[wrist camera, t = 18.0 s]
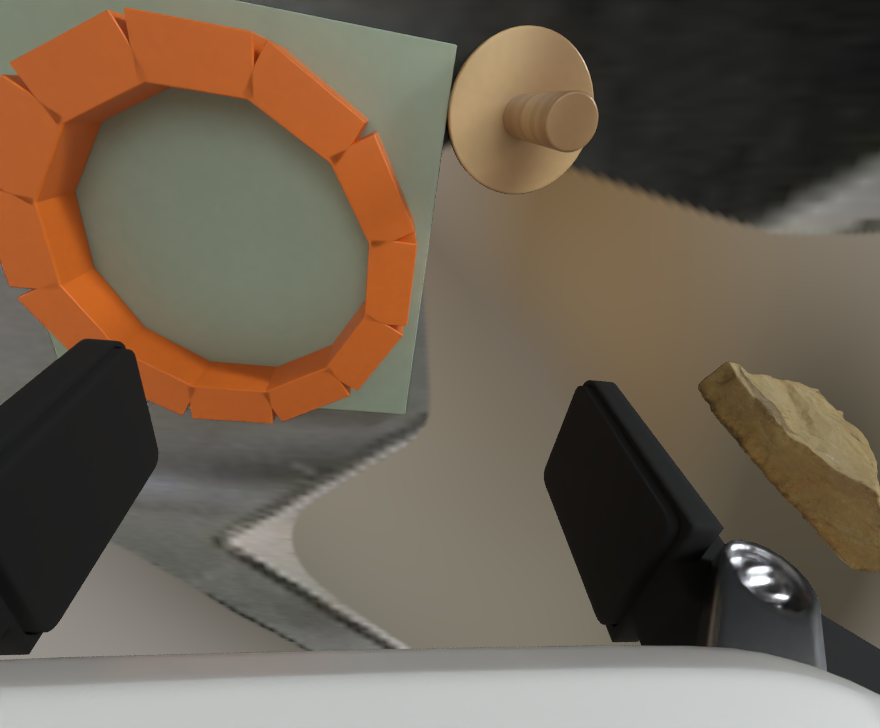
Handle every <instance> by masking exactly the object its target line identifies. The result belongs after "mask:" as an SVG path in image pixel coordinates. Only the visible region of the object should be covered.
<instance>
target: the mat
mask: <svg viewBox="0 0 880 728" xmlns="http://www.w3.org/2000/svg"><path fill="white" fill-rule="evenodd" d="M125 7H127V8H133V9H138V10H143V11H149V12H154V13H159V14H164V15H170V16H175V17H180V18H186V19H191V20H196V21H201V22H207V23H212V24H217V25H223V26H228V27H233V28H238V29H244V30H249V31H252V32H254V33H256V34H258V35H260V36H262V37H264V38H266V39H268V40H270V41H272V42H274V43H276V44H278V45H280V46H282V47H284V48H286V49H287V50H288V51H289V52H290V53H291V54H293V55H294V56H295V57H296V58H297V59H299V60H300V61H301V62H302V63H303V64H304V65H306V66H307V67H308V68H309V69H310V70H311V71H313V72H314V73H315V74H316V75H317V76H319V77H320V78H321V79H322V80H323V81H324V82H326V83H327V84H328V85H329V86H330V87H332V88H333V89H334V90H335V91H336V92H337V93H339V94H340V95H341V96H342V97H343V98H344V99H346V100H347V101H348V102H349V103H350V104H352V105H353V106H354V107H355V108H356V109H357V110H359V111H360V112H361V113H362V114H363V115H364V116H366V117H367V118H368V119H369V122H368V123H367V125H366V127H365V128H364V130H363V131H362V133H361V134H360V136H359V138H358V139H360V138H362V137H364V136H366V135H368V134H371V133H373V132H375V131H377V132H378V133H379V136H380V138H381V141H382V143H383V145H384V148H385V150H386V153H387V155H388V158H389V160H390V162H391V165H392V167H393V170H394V172H395V174H396V177H397V179H398V182H399V184H400V187H401V189H402V191H403V194H404V196H405V199H406V201H407V203H408V206H409V208H410V211H411V213H412V216H413V218H414V225H415V232H416V239H417V251H416V259H415V267H414V276H413V284H412V292H411V300H410V308H409V316H408V324H407V326H403V336H402V337H401V339H400V340H399V341H398V342H397V343H396V345H395V346H394V347H393V348H392V350H391V351H390V352H389V353H388V354H387V356H386V357H385V358H384V359H383V361H382V362H381V363H380V364H379V365H378V367H377V368H376V369H375V370H374V372H373V373H372V374H371V375H370V376H369V378H368V379H367V380H366V381H365V382H364V384H363V385H362V386H361V387H360V389H359V390H358V391H357V390H355V389H353V388H351V391H350V396H349V397H346V398H343V399H341V400H338V401H336V402H333V403H330V404H328V405H325V406H322V407H320V408H324V409H338V410H352V411H365V412H379V413H393V414H405V411H406V404H407V397H408V390H409V383H410V375H411V368H412V361H413V354H414V347H415V340H416V333H417V326H418V319H419V311H420V304H421V297H422V290H423V283H424V276H425V269H426V262H427V254H428V247H429V240H430V232H431V226H432V219H433V212H434V205H435V198H436V191H437V183H438V176H439V169H440V162H441V155H442V148H443V141H444V134H445V127H446V119H447V112H448V105H449V98H450V91H451V84H452V77H453V70H454V63H455V55H456V48H457V45H455V44H450V43H445V42H440V41H435V40H430V39H425V38H420V37H415V36H410V35H405V34H400V33H395V32H390V31H385V30H380V29H375V28H370V27H365V26H360V25H355V24H350V23H346V22H341V21H336V20H331V19H326V18H321V17H316V16H311V15H306V14H301V13H296V12H291V11H286V10H281V9H276V8H271V7H266V6H261V5H256V4H251V3H246V2H241V1H236V0H0V76H1V75H2V74H5V75H18V74H17V73H16V71H15V70H14V69H13V67H12V66H11V65H10V62H11V61H13V60H15V59H16V58H18V57H20V56H22V55H24V54H26V53H27V52H29V51H31V50H33V49H35V48H37V47H39V46H40V45H42V44H44V43H46V42H48V41H50V40H52V39H53V38H55V37H57V36H59V35H61V34H63V33H65V32H66V31H68V30H70V29H72V28H74V27H76V26H77V25H79V24H81V23H83V22H85V21H87V20H89V19H90V18H92V17H94V16H96V15H98V14H100V13H102V12H103V11H105V10H111V11H114V12H117V13H120V14H123V15H125V12H124V8H125ZM358 139H357V140H358ZM75 193H76V197H77V201H78V205H79V209H80V213H81V217H82V221H83V225H84V229H85V233H86V237H87V241H88V245H89V249H90V252H91V256H92V260H93V264H94V268H95V269H96V270H97V271H98V272H99V273H100V275H101V276H102V277H103V278H104V279H105V281H106V282H107V283H108V284H109V285H110V286H111V288H112V289H113V290H114V291H115V292H116V293H117V295H118V296H119V297H120V298H121V299H122V301H123V302H124V303H125V304H126V305H127V306H128V308H129V309H130V310H131V311H132V312H133V313H134V315H135V316H136V317H137V318H138V319H139V321H140V322H141V323H142V324H143V325H144V326H145V328H147V329H149V330H151V331H153V332H155V333H157V334H159V335H161V336H163V337H165V338H167V339H169V340H170V341H172V342H174V343H176V344H178V345H180V346H182V347H184V348H186V349H188V350H190V351H192V352H194V353H196V354H197V355H199V356H201V357H203V358H205V359H207V360H209V361H213V362H225V363H237V364H250V365H262V366H274V367H278V366H280V365H283V364H285V363H288V362H290V361H293V360H295V359H298V358H300V357H303V356H305V355H308V354H310V353H313V352H315V351H318V350H320V349H323V348H325V347H328V346H330V345H332V344H333V343H334V341H335V340H336V339H337V337H338V336H339V335H340V333H341V332H342V331H343V329H344V328H345V327H346V325H347V324H348V322H349V321H350V320H351V318H352V317H353V316H354V314H355V313H356V312H357V310H358V309H359V308H360V306H361V305H362V304H363V302H364V301H365V298H366V283H367V269H368V254H369V243H368V241H367V238H366V236H365V234H364V232H363V230H362V228H361V226H360V224H359V222H358V220H357V218H356V216H355V214H354V212H353V209H352V207H351V205H350V203H349V201H348V199H347V197H346V195H345V193H344V191H343V189H342V187H341V185H340V183H339V180H338V178H337V176H336V174H335V172H334V170H333V168H332V166H331V164H330V163H329V162H328V161H326V160H325V159H324V158H322V157H321V156H320V155H319V154H317V153H316V152H315V151H313V150H312V149H311V148H310V147H308V146H307V145H306V144H304V143H303V142H302V141H300V140H299V139H298V138H297V137H295V136H294V135H293V134H291V133H290V132H289V131H288V130H286V129H285V128H284V127H282V126H281V125H280V124H278V123H277V122H276V121H275V120H273V119H272V118H271V117H269V116H268V115H267V114H266V113H264V112H263V111H262V110H260V109H259V108H258V107H256V106H255V105H254V104H253V103H251V102H250V101H249V100H246V99H240V98H234V97H228V96H222V95H216V94H210V93H204V92H198V91H192V90H186V89H180V88H174V87H170V88H168V89H166V90H164V91H162V92H160V93H158V94H156V95H154V96H152V97H150V98H148V99H146V100H144V101H142V102H140V103H138V104H136V105H134V106H132V107H130V108H128V109H126V110H124V111H122V112H120V113H118V114H116V115H114V116H112V117H110V118H108V119H106V120H104V121H102V123H101V126H100V128H99V131H98V133H97V136H96V139H95V141H94V144H93V146H92V149H91V152H90V154H89V157H88V159H87V162H86V165H85V167H84V170H83V172H82V175H81V178H80V180H79V183H78V185H77V188H76V190H75ZM48 331H49V330H48ZM49 334H50V337H51V340H52V343H53V346H54V349H55V352H56V355H57V358H60V357H61V356H62V355H63V354H65V353H66V352H67V351H68V349H67V348H66V347H65V346H64V345H63V344H62V343H61V342H60V341H59V340H58V339H57V338H56V337H55V336H54V335H53V334H52V333H51V332H50V331H49Z"/></svg>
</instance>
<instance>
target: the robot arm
mask: <svg viewBox="0 0 880 728" xmlns="http://www.w3.org/2000/svg"><path fill="white" fill-rule="evenodd" d="M157 461H158V447H157V443H156V439H155V435H154V431H153V426H152V422H151V418H150V414H149V410H148V406H147V401H146V397H145V393H144V389H143V385H142V381H141V376H140V372H139V368H138V364H137V360H136V356H135V353H134V352H133V351H132V350H130V349H126V347H125V345H124V344H123V343H122V342H120V341H113V340H101V339H83V340H81V341H79V342H78V343H77V344H76V345H74V346H73V347H72V348H71V349H69V350H68V351H67V352H66V353H65V354H63V355H62V356H61V357H60V358H58V359H57V360H56V361H55V362H53V363H52V364H51V365H50V366H48V367H47V368H46V369H45V370H44V371H42V372H41V373H40V374H39V375H37V376H36V377H35V378H34V379H32V380H31V381H30V382H29V383H28V384H26V385H25V386H24V387H23V388H21V389H20V390H19V391H18V392H16V393H15V394H14V395H13V396H12V397H10V398H9V399H8V400H7V401H5V402H4V403H3V404H2V405H0V655H24V654H29V653H30V652H31V650H32V649H33V647H34V646H35V644H36V642H37V641H38V639H39V638H40V636H41V635H42V633H43V632H49V631H50V630H52V629H53V628H54V627H55V626H56V625H57V624H58V622H59V621H60V619H61V618H62V616H63V615H64V613H65V611H66V610H67V608H68V607H69V605H70V603H71V602H72V600H73V599H74V597H75V595H76V594H77V592H78V591H79V589H80V587H81V586H82V584H83V583H84V581H85V579H86V578H87V576H88V575H89V573H90V571H91V570H92V568H93V566H94V565H95V563H96V562H97V560H98V559H99V557H100V555H101V554H102V552H103V550H104V549H105V547H106V546H107V544H108V543H109V541H110V539H111V538H112V536H113V534H114V533H115V531H116V530H117V528H118V526H119V525H120V523H121V522H122V520H123V518H124V517H125V515H126V514H127V512H128V510H129V509H130V507H131V506H132V504H133V502H134V501H135V499H136V498H137V496H138V494H139V493H140V491H141V490H142V488H143V486H144V485H145V483H146V482H147V480H148V478H149V477H150V475H151V473H152V472H153V470H154V469H155V467H156V464H157ZM544 481H545V485H546V488H547V490H548V493H549V496H550V498H551V501H552V503H553V506H554V509H555V511H556V514H557V516H558V519H559V522H560V524H561V527H562V529H563V532H564V535H565V537H566V540H567V542H568V545H569V547H570V550H571V553H572V555H573V558H574V560H575V563H576V565H577V568H578V571H579V573H580V576H581V579H582V581H583V584H584V586H585V589H586V592H587V594H588V597H589V599H590V602H591V604H592V607H593V610H594V612H595V614H596V617H597V619H598V620H599V621H600V623H601V624H604V625H606V627H607V630H608V632H609V635H610V637H611V640H612V642H638V641H640V643H641V645H642V646H607V645H606V646H605V645H604V646H542V647H480V648H432V649H431V648H430V649H429V648H428V649H380V650H334V651H291V652H246V653H211V654H174V655H173V654H172V655H135V656H98V657H65V658H64V657H60V658H38V659H16V660H0V728H880V649H878V648H877V647H875V646H873V645H871V644H870V643H868V642H867V641H865V640H863V639H862V638H860V637H858V636H857V635H855V634H854V633H852V632H850V631H849V630H847V629H845V628H843V627H842V626H840V625H839V624H837V623H835V622H833V621H832V620H830V619H829V618H827V617H825V616H823V615H822V614H821V612H820V605H819V601H818V599H817V595H816V593H815V591H814V590H813V588H812V587H811V585H810V584H809V582H808V580H807V579H806V578H805V577H804V576H803V575H802V574H801V573H800V572H799V571H798V570H797V568H795V567H794V566H793V565H792V564H790V563H789V562H788V561H787V560H785V559H784V558H783V557H782V556H780V555H778V554H777V553H775V552H773V551H772V550H770V549H768V548H766V547H764V546H761V545H759V544H757V543H754V542H750V541H745V540H734V541H733V540H732V541H730V542H728V543H727V544H724V542H723V541H722V540H721V538H720V537H719V534H720V533H721V531H722V530H723V529H724V528H723V526H722V525H721V524H720V522H719V521H718V520H717V518H716V517H715V516H714V514H713V513H712V512H711V510H710V509H709V508H708V506H707V505H706V504H705V502H704V501H703V500H702V498H701V497H700V496H699V494H698V493H697V492H696V490H695V489H694V488H693V487H692V485H691V484H690V482H689V481H688V480H687V479H686V477H685V476H684V475H683V473H682V472H681V471H680V469H679V468H678V467H677V465H676V464H675V463H674V461H673V460H672V459H671V457H670V456H669V455H668V453H667V452H666V451H665V449H664V448H663V447H662V445H661V444H660V443H659V442H658V440H657V439H656V437H655V436H654V435H653V433H652V432H651V431H650V429H649V428H648V427H647V425H646V424H645V423H644V421H643V420H642V419H641V418H640V416H639V415H638V413H637V412H636V411H635V409H634V408H633V407H632V406H631V404H630V403H629V402H628V400H627V399H626V397H625V396H624V395H623V394H622V392H621V391H620V390H619V388H618V387H617V386H616V385H615V384H614V383H612V382H603V381H592V380H589V381H586V382H585V383H584V385H583V386H579V387H578V388H577V389H576V391H575V393H574V395H573V398H572V401H571V403H570V406H569V408H568V411H567V413H566V416H565V419H564V421H563V424H562V426H561V429H560V432H559V434H558V437H557V439H556V442H555V444H554V447H553V449H552V452H551V454H550V457H549V460H548V462H547V465H546V467H545V471H544Z"/></svg>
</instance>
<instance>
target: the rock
mask: <svg viewBox="0 0 880 728" xmlns="http://www.w3.org/2000/svg"><path fill="white" fill-rule="evenodd" d="M698 389H699V391H700V392H701V394H702V396H703V398H704V399H705V401H707V402H708V403H709V405H710V408H711V411H712V412H713V413H714V415H715V416H716V418H717V419H718V420H719V421H720V422H721V424H722V425H723V426H724V427H725V428H726V429H727V431H728V432H729V433H730V434H731V435H732V436H733V437H734V438H735V439H736V440H737V442H738V443H739V445H740V447H741V448H742V449H743V450H744V452H745V453H746V454H747V456H748V457H749V458H750V459H751V460H752V461H753V462H754V463H755V464H756V465H757V466H758V467H759V469H760V470H761V471H762V472H763V474H764V475H765V477H766V478H767V479H768V480H769V481H770V482H771V483H772V484H773V485H774V486H775V487H776V489H777V490H778V491H779V493H780V494H781V495H782V496H783V497H784V498H785V499H786V500H787V502H788V503H789V504H790V505H791V506H792V507H794V508H795V509H796V510H798V511H799V512H800V513H801V515H802V517H803V518H804V519H805V520H806V521H807V522H808V523H809V524H810V525H811V526H812V527H813V528H814V529H815V530H816V532H817V533H818V534H819V536H820V537H821V538H822V539H823V540H824V541H825V542H826V543H827V544H828V545H829V546H830V547H831V548H832V549H833V550H834V551H835V553H836V554H837V555H838V556H839V557H840V559H841V560H843V561H844V562H845V563H846V564H848V565H849V566H850V567H851V568H852V569H854V570H859V571H866V572H880V486H879V481H878V479H877V462H876V460H875V458H874V454H873V452H872V451H871V449H870V447H869V443H868V441H867V440H866V439H865V437H864V435H863V434H862V433H861V432H860V430H858V429H857V428H856V427H855V426H853V425H852V424H850V423H848V422H847V421H845V420H844V418H843V412H842V411H837V410H835V408H834V407H833V406H832V405H831V404H830V403H828V402H827V400H826V398H825V397H823V396H822V395H821V394H820V393H819V390H818V389H814V388H810V387H807V386H805V385H803V384H802V383H799V382H792V381H789V380H779V379H775V378H772V377H771V376H769V375H763V374H757V375H756V374H749V373H748V372H746V370H745V369H743V368H742V366H740V365H738V364H737V363H731V362H726V363H724V364H723V365H721V367H719V368H718V369H717V370H716V371H714V372H713V373H712V374H711V375H709V376H707V377H706V378H705V379H704V380H703V381H702V382H701V383H700V384H699V387H698Z"/></svg>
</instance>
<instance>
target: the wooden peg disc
mask: <svg viewBox="0 0 880 728" xmlns="http://www.w3.org/2000/svg"><path fill="white" fill-rule="evenodd" d="M597 124H598V109H597V106H596V103H595V101H594V95H593V86H592V81H591V77H590V74H589V71H588V68H587V66H586V64H585V62H584V60H583V58H582V56H581V55H580V53H579V52H578V51H577V49H576V48H575V47H574V46H573V45H572V44H571V43H570V42H569V41H568V40H567V39H566V38H564V37H563V36H562V35H560V34H559V33H557V32H555V31H553V30H550V29H547V28H544V27H540V26H532V25H529V26H518V27H513V28H509V29H506V30H504V31H501V32H499V33H497V34H496V35H494V36H492V37H490V38H489V39H488V40H486V41H485V42H484V43H482V44H481V45H480V46H478V47H477V48H476V49H475V50H474V51H473V52H472V53H471V54H470V56H469V57H468V58H467V60H466V61H465V62H464V64H463V65H462V67H461V69H460V70H459V72H458V74H457V76H456V78H455V81H454V83H453V86H452V89H451V92H450V98H449V105H448V112H447V126H448V133H449V138H450V141H451V145H452V148H453V150H454V152H455V155H456V156H457V158H458V160H459V162H460V164H461V165H462V166H463V168H464V169H465V170H466V171H467V172H468V173H469V174H470V175H471V176H472V177H473V178H474V179H475V180H476V181H478V182H479V183H480V184H482V185H483V186H485V187H487V188H489V189H491V190H494V191H497V192H501V193H505V194H524V193H528V192H532V191H536V190H538V189H541V188H543V187H545V186H547V185H549V184H550V183H552V182H553V181H555V180H556V179H557V178H559V177H560V176H561V175H562V174H563V173H564V172H565V171H566V170H567V169H568V168H569V167H570V166H571V165H572V163H573V162H574V161H575V159H576V158H577V156H578V155H579V153H580V151H581V150H582V148H583V147H584V146H585V145H586V144H587V143H588V142H589V141H590V139H591V138H592V137H593V135H594V133H595V131H596V128H597Z"/></svg>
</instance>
